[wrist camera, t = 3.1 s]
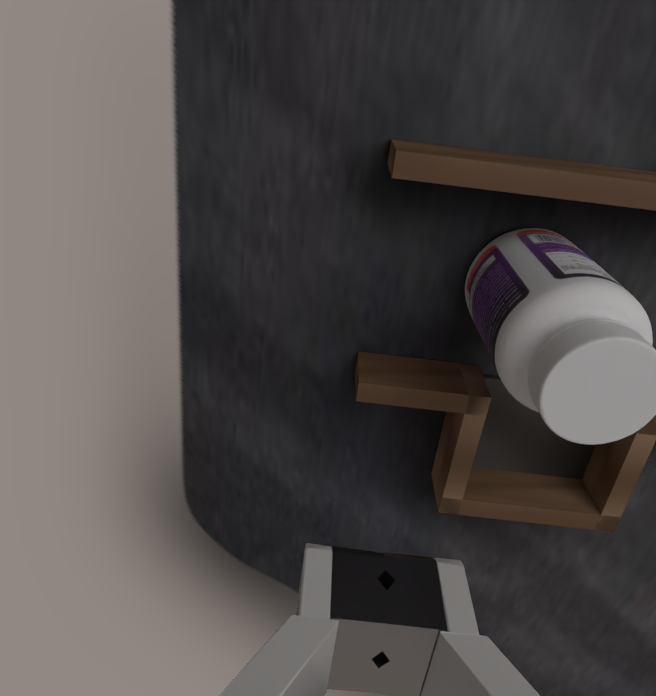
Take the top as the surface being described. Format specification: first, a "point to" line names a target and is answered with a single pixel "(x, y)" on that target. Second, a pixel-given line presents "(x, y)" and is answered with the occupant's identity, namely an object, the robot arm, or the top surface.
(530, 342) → the pill bottle
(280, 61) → the top surface
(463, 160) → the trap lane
